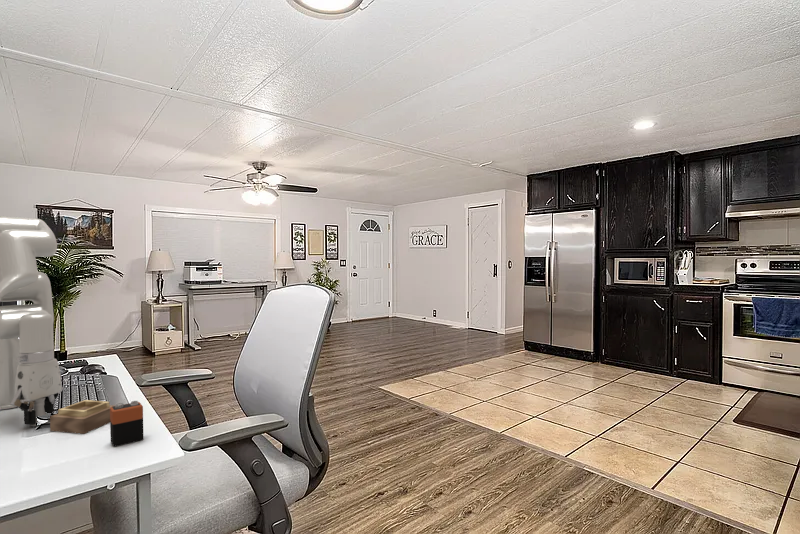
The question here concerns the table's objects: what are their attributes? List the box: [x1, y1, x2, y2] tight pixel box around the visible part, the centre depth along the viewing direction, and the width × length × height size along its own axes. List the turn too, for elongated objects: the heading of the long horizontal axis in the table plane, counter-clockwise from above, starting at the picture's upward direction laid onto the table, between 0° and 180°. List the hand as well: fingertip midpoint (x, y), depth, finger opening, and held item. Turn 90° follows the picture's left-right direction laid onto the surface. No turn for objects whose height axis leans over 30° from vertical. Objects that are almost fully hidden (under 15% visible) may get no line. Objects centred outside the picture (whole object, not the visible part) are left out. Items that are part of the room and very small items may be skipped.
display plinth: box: [49, 399, 114, 435], centre depth 128 cm, size 11×11×6 cm
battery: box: [109, 400, 144, 447], centre depth 117 cm, size 4×7×10 cm, turn 130°
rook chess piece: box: [29, 397, 46, 427], centre depth 129 cm, size 4×4×8 cm
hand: (39, 420), depth 129 cm, fingers closed on rook chess piece, 4 cm apart
